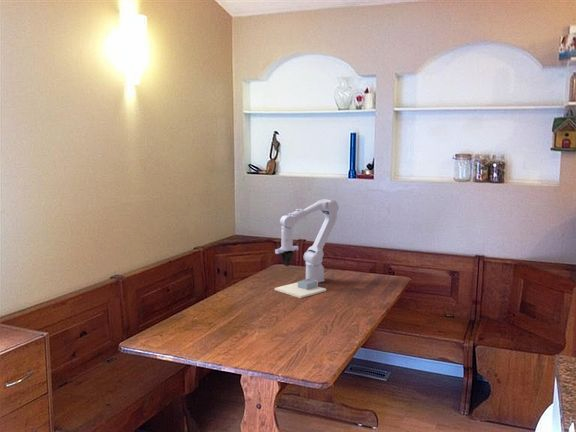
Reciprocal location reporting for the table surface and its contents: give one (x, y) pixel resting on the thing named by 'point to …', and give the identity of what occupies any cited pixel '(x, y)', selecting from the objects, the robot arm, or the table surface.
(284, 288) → the tile
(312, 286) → the block
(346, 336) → the table surface
